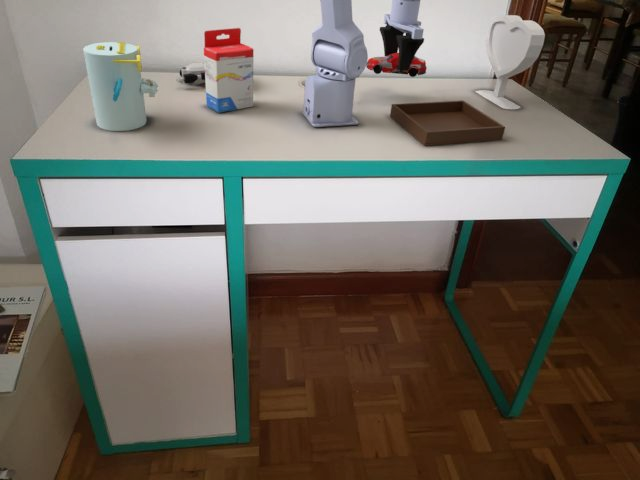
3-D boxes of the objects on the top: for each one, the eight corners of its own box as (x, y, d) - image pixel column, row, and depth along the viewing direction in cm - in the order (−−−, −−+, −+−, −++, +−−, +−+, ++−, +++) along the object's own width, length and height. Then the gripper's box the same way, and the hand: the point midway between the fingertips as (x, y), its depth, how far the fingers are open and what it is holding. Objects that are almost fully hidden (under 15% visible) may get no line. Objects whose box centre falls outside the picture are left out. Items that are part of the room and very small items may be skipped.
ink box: (218, 113, 102) (215, 36, 94) (206, 106, 105) (201, 30, 97) (254, 106, 107) (254, 32, 99) (241, 99, 110) (240, 26, 102)
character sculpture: (164, 141, 90) (156, 63, 82) (93, 145, 87) (78, 63, 79) (159, 102, 106) (151, 33, 98) (98, 104, 102) (86, 33, 95)
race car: (365, 73, 112) (367, 54, 110) (365, 66, 117) (367, 48, 115) (426, 78, 112) (429, 59, 110) (423, 71, 117) (426, 53, 115)
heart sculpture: (470, 89, 128) (488, 10, 118) (487, 88, 129) (507, 11, 119) (507, 111, 116) (531, 26, 106) (526, 110, 117) (551, 26, 107)
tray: (424, 146, 96) (427, 132, 94) (389, 116, 108) (391, 104, 106) (501, 139, 101) (505, 126, 100) (460, 112, 113) (463, 100, 111)
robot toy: (176, 94, 112) (245, 93, 113) (172, 73, 110) (243, 72, 110) (186, 77, 123) (249, 76, 123) (183, 58, 120) (248, 57, 120)
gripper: (441, 5, 102) (428, 74, 109) (407, -8, 113) (398, 56, 121) (409, 5, 100) (398, 75, 107) (378, -8, 111) (370, 56, 118)
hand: (396, 65), depth 114 cm, fingers closed on race car, 6 cm apart
